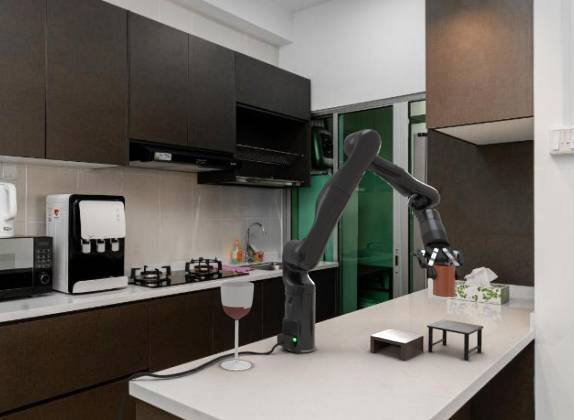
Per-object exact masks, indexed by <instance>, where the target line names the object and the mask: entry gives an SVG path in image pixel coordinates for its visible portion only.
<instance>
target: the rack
mask: <svg viewBox="0 0 574 420" xmlns="http://www.w3.org/2000/svg"><path fill="white" fill-rule="evenodd" d="M426 328H427V329H428V337H427V338H428V342H427V343H428V344H427V347H428V348H427V352H428V353H433V349H434V348H433V347H434V346H436V345H438V344H440V343H442V346H443V347H447V345H448V344H447V341H448V340H447V339H448V332H450V333H455V334H460V335H463V336H464V337H463V338H464V339H463V360H464V361H466V362H468V361H469V360H470V353H473V352H474V351H476V353H477V354H482V352H483V351H482V349H483V347H482V345H483V343H482V342H483V341H482V340H483V329H484V326H483V325H479V324H473V323H467V322H462V321H461V322H460V321H456V320H455V321H454V320H450V319H444V318H443V319H441V320H438V321H435V322H433V323H429V324H427V325H426ZM434 330H439V331H442V338H441V339H438V340H435V341H434ZM475 333H476V334H477V335H476V345H475V346H474V347H472V348H470V335H472V334H475Z"/></svg>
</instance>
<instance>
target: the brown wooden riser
mask: <svg viewBox="0 0 574 420" xmlns="http://www.w3.org/2000/svg"><path fill="white" fill-rule="evenodd" d="M424 337H425V336H424V335H422V334H418V333H413V332H408V331H402V330H398V329H393V328H388V329H385V330H383V331H380V332H377V333H373V334H371V335H370V339H369V340H370V341H369V342H370V343H369V352H370V353H372V354H375V353H377V352H380V351H382V350H384V349H387V348H389V347H393V348H394V347H395V348H398V349H400V360H401V361H407V360H409V359H411V358H414V357H416V356H418V355H421V354H423V353H424V348H425V347H424V343H425V341H424V340H425V339H424Z"/></svg>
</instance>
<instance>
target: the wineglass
mask: <svg viewBox="0 0 574 420" xmlns="http://www.w3.org/2000/svg"><path fill="white" fill-rule="evenodd" d="M254 289H255V284H254V283H253V282H249V281H226V282H221V283H220V297H221V305H222V308H223V312H224V313H225V314H226V315H227V316H229V318H232V319H233V320H234V326H235V327H234V353H235V355H234V360H226V361H224V362H222V363H221V364H220V366H221V368H222V369H225V370H228V371H246V370H249V369H250V368H251V367H252V364H251V363H250V362H248V361H245V360H239V355H238V352H239V320H241V319H242V318H243V317H246V316H247V315H248V314H249V313H250V311H251V308H252V305H253V299H254V291H255V290H254Z"/></svg>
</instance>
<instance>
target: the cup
mask: <svg viewBox="0 0 574 420" xmlns="http://www.w3.org/2000/svg"><path fill="white" fill-rule="evenodd" d="M432 266H434V269H435V273H436V278H435V280H432V295H433V296H434V297H435V296H436V297H441V298H454V297H456V280H455V273H456V266H455V265H448V264H446V263H435V264H434V263H433V265H432Z"/></svg>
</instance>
